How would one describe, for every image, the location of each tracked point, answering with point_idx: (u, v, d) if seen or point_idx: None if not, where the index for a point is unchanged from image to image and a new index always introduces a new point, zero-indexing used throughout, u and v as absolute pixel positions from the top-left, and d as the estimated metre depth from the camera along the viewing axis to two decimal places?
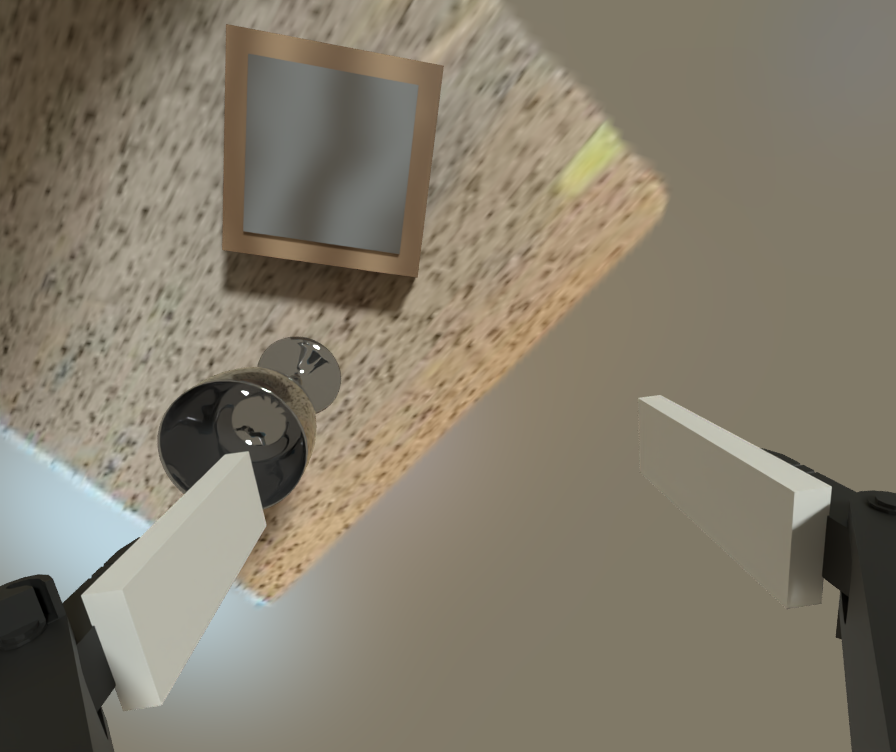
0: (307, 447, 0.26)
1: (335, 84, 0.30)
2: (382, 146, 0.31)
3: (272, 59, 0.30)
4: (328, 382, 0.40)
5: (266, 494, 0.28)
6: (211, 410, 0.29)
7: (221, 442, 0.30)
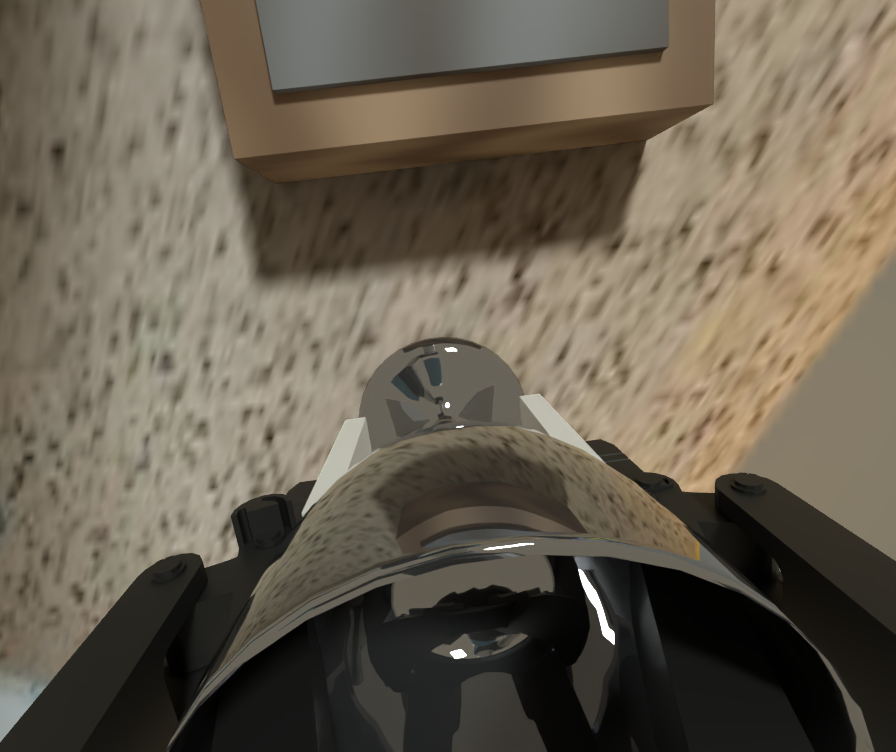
0: None
1: None
2: None
3: None
4: (505, 416, 0.19)
5: None
6: None
7: (368, 672, 0.10)
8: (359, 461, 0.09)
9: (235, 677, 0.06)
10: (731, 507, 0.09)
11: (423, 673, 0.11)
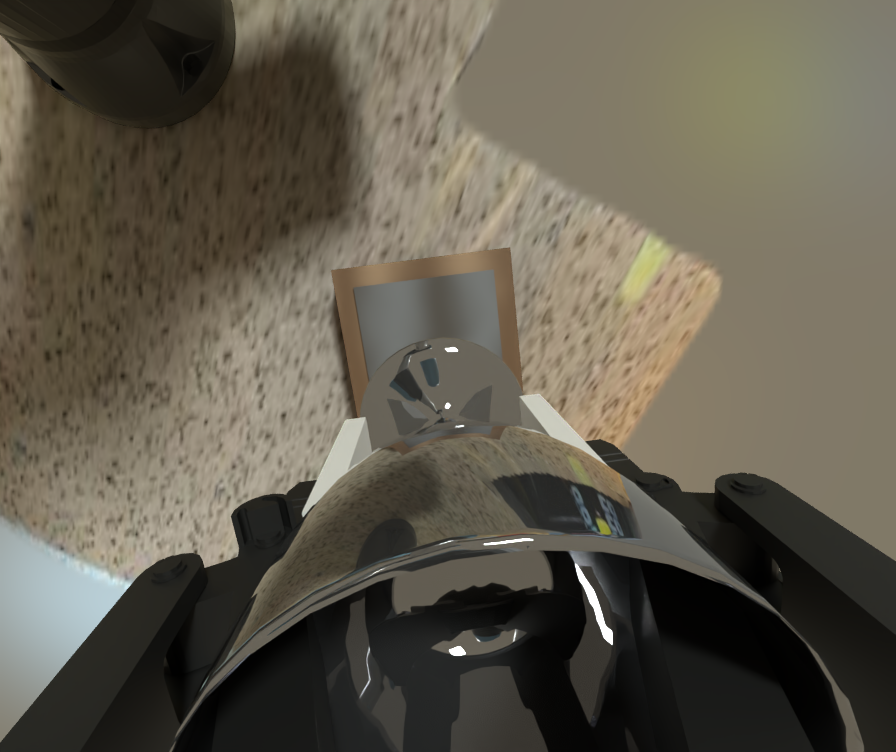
0: None
1: (426, 289, 0.36)
2: (474, 324, 0.37)
3: (372, 285, 0.36)
4: (504, 415, 0.19)
5: None
6: None
7: (369, 669, 0.10)
8: (360, 460, 0.09)
9: (235, 677, 0.06)
10: (731, 507, 0.09)
11: (423, 670, 0.11)
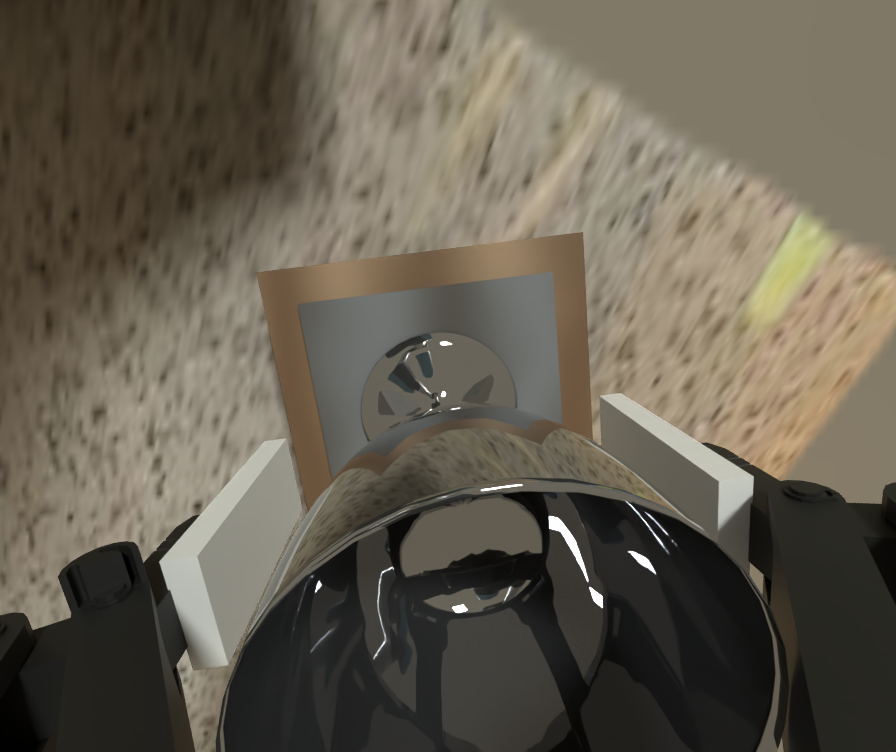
0: (775, 658, 0.07)
1: (431, 308, 0.20)
2: (516, 369, 0.21)
3: (333, 300, 0.20)
4: (497, 405, 0.21)
5: None
6: (337, 555, 0.11)
7: (380, 626, 0.11)
8: (373, 439, 0.10)
9: None
10: None
11: (428, 628, 0.12)
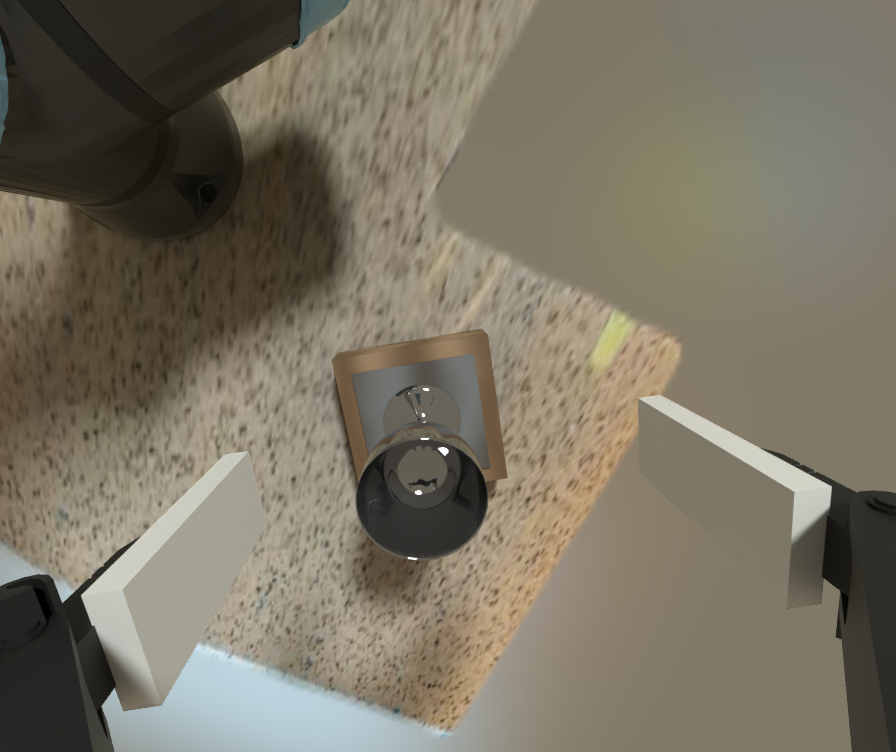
0: (485, 481, 0.27)
1: (415, 373, 0.41)
2: (458, 401, 0.42)
3: (368, 372, 0.41)
4: (450, 419, 0.42)
5: (453, 534, 0.30)
6: (377, 473, 0.32)
7: (392, 499, 0.32)
8: None
9: None
10: None
11: (410, 502, 0.33)
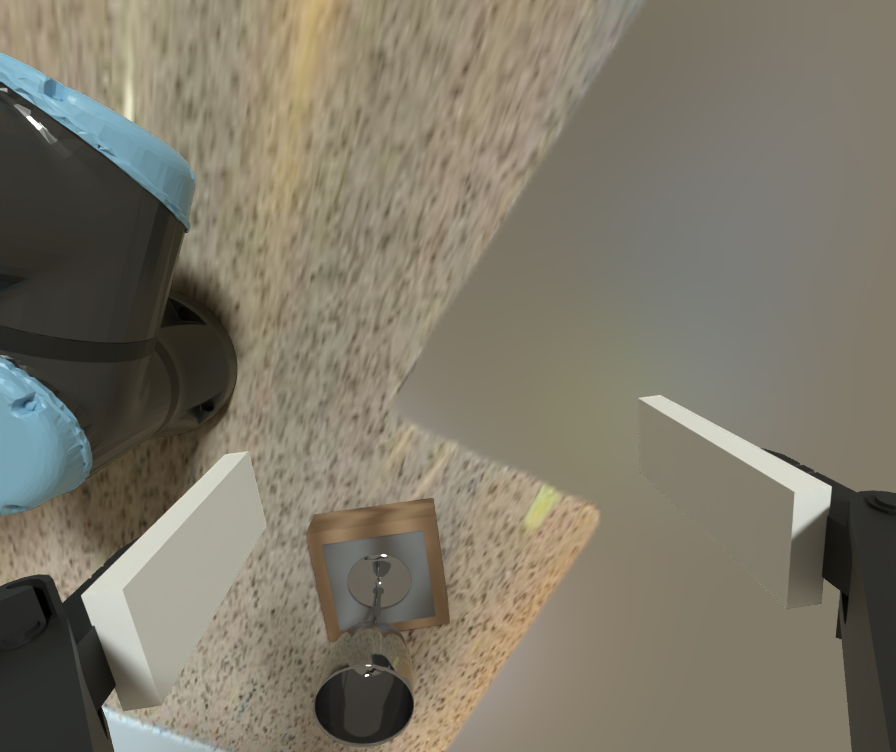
0: (412, 692, 0.37)
1: (374, 545, 0.50)
2: (410, 566, 0.51)
3: (335, 544, 0.50)
4: (402, 581, 0.51)
5: (390, 718, 0.39)
6: None
7: (346, 679, 0.42)
8: (343, 634, 0.40)
9: None
10: None
11: (360, 679, 0.42)
